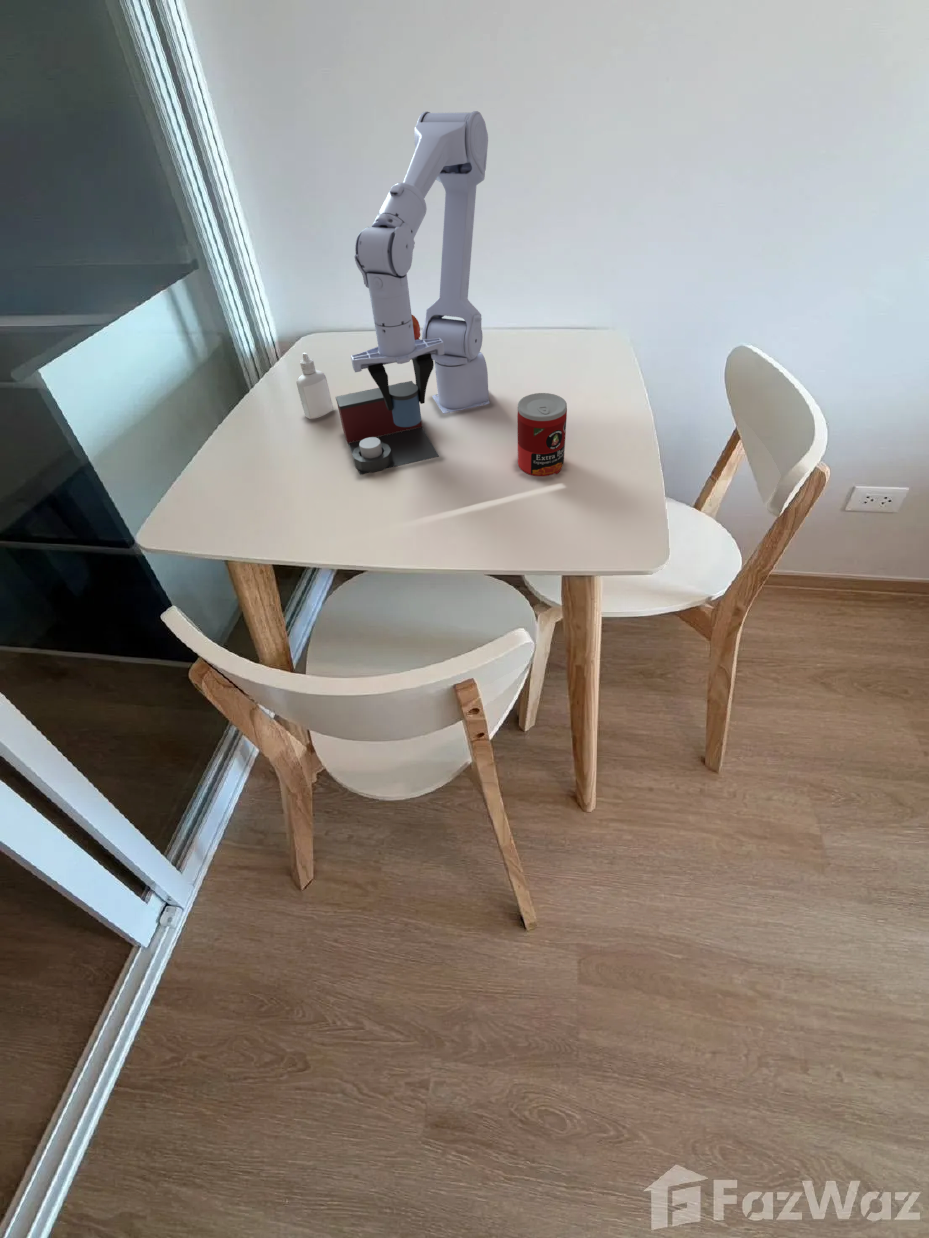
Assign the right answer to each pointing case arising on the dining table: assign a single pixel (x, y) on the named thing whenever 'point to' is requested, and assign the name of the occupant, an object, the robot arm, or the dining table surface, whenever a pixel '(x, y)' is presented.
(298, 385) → the eye dropper bottle
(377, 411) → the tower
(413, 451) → the dark grey drip tray
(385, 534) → the dining table surface
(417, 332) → the pomegranate
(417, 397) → the container
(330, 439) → the dining table surface
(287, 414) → the dining table surface
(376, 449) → the power button
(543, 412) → the canned food
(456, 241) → the robot arm
